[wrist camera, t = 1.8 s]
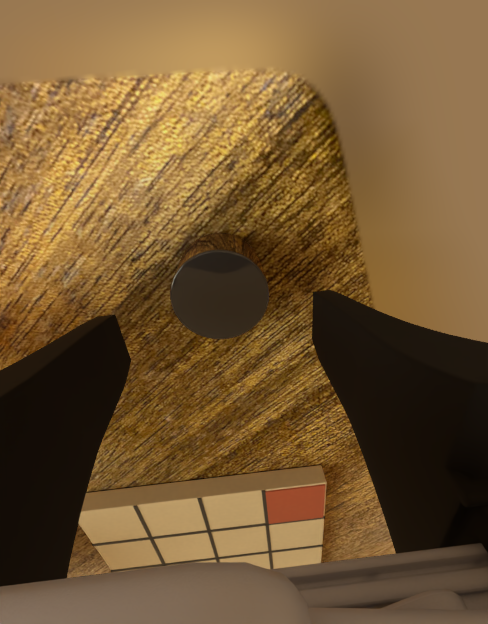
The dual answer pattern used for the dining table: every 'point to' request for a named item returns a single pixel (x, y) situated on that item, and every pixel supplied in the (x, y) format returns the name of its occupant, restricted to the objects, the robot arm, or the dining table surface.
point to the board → (211, 521)
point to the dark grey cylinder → (219, 287)
